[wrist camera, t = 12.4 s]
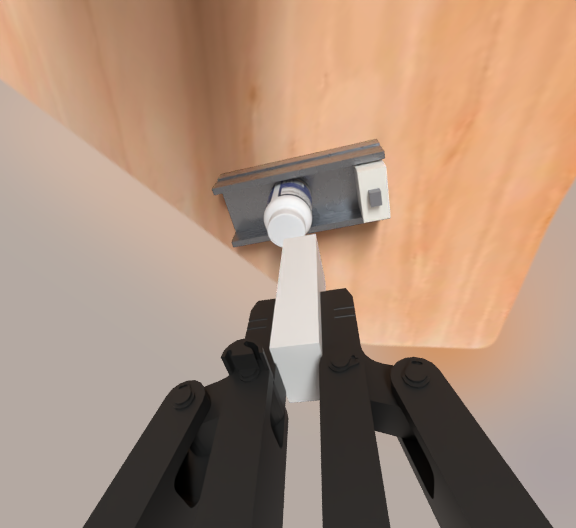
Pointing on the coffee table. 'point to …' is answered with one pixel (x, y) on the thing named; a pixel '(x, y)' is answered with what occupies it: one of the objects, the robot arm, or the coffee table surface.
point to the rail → (314, 173)
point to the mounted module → (372, 190)
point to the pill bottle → (288, 210)
